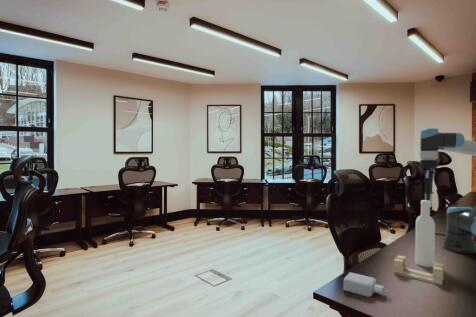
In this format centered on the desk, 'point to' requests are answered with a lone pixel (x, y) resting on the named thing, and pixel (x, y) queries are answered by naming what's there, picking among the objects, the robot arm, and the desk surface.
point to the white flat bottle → (362, 285)
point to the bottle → (425, 237)
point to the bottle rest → (424, 276)
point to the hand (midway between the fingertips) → (428, 206)
